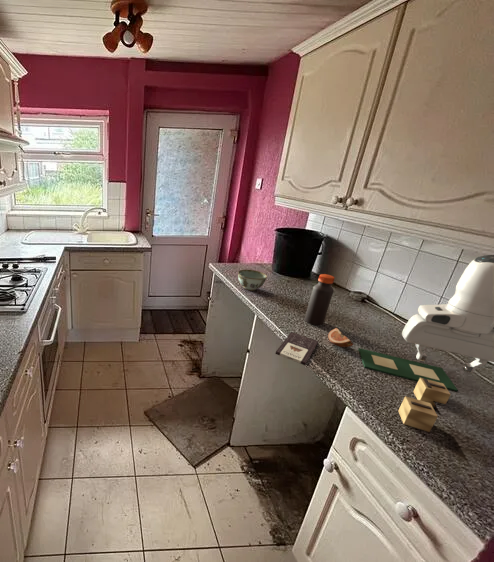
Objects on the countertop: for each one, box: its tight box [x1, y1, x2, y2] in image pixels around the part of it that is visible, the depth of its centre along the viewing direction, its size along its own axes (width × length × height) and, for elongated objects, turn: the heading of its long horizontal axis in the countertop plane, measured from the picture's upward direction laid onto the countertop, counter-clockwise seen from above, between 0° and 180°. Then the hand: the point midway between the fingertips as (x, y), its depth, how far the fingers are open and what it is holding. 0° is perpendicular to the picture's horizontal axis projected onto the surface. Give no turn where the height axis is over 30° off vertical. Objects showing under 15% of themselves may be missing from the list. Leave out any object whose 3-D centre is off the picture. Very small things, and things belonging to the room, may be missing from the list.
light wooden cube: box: [397, 396, 439, 433], centre depth 78 cm, size 5×5×5 cm
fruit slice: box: [327, 327, 354, 348], centre depth 110 cm, size 8×7×5 cm
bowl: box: [237, 269, 268, 292], centre depth 157 cm, size 14×14×8 cm
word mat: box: [357, 347, 459, 392], centre depth 99 cm, size 22×12×1 cm, turn 62°
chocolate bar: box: [274, 331, 319, 366], centre depth 108 cm, size 9×1×18 cm
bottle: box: [304, 273, 335, 327], centre depth 123 cm, size 7×7×20 cm
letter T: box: [412, 378, 452, 408], centre depth 85 cm, size 5×5×5 cm
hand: (443, 364), depth 82 cm, fingers open, 8 cm apart
